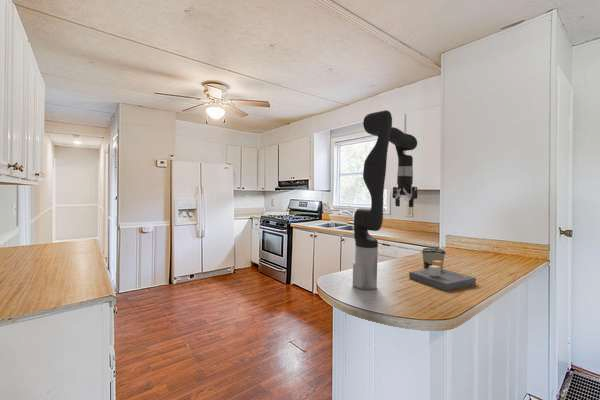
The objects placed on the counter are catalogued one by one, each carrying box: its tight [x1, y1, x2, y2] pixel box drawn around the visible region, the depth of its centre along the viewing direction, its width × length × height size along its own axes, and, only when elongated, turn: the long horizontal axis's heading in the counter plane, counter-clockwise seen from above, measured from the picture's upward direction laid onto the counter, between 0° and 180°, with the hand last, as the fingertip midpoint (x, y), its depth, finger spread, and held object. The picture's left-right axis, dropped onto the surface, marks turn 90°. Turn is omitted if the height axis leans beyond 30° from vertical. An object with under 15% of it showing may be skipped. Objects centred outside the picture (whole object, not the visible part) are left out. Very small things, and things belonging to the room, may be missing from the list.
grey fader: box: [428, 265, 441, 277], centre depth 124 cm, size 4×3×4 cm
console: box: [408, 268, 477, 292], centre depth 127 cm, size 20×19×3 cm
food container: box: [421, 247, 447, 269], centre depth 152 cm, size 12×6×10 cm, turn 84°
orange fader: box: [432, 260, 444, 270], centre depth 134 cm, size 4×3×4 cm
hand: (404, 206), depth 144 cm, fingers open, 8 cm apart
